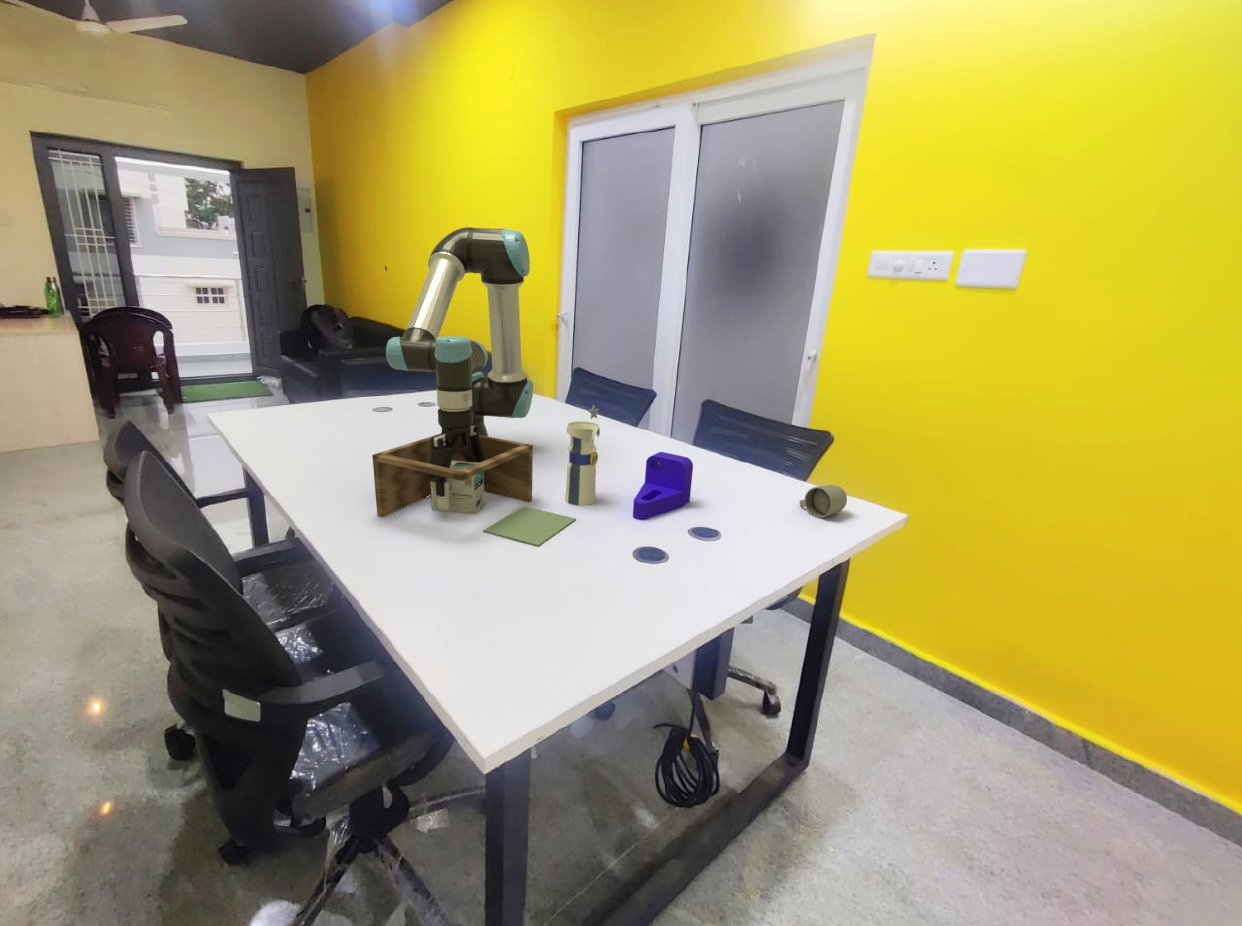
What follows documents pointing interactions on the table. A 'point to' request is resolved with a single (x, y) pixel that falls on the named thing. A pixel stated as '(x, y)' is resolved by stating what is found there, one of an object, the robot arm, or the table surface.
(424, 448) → the open wooden box frame
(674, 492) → the bracket
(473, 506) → the light bulb box
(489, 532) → the mat
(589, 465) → the belted robe figure
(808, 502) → the ceramic mug
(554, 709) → the table surface
